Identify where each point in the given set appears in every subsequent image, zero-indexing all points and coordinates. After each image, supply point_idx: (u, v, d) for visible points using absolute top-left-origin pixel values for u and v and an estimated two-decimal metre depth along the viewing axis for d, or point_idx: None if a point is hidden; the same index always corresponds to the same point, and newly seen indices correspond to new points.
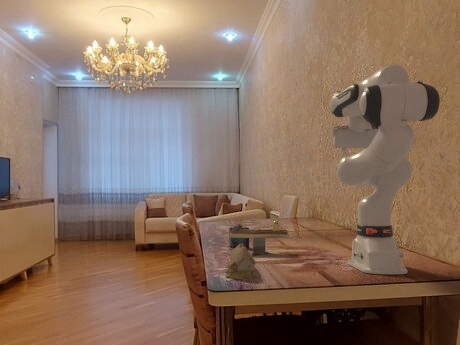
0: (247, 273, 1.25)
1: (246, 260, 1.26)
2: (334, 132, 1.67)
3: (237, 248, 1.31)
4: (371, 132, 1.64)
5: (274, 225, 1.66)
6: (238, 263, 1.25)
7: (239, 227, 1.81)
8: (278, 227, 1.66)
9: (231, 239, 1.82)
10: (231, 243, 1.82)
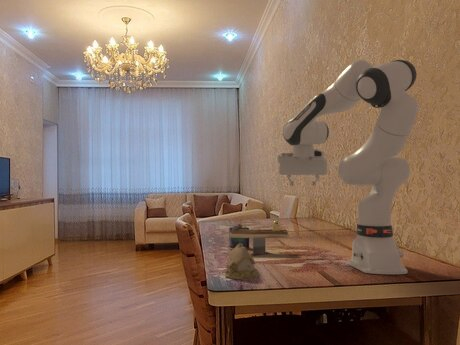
0: (247, 273, 1.25)
1: (246, 260, 1.26)
2: (279, 159, 1.71)
3: (236, 248, 1.31)
4: (314, 159, 1.68)
5: (274, 225, 1.66)
6: (238, 263, 1.25)
7: (239, 227, 1.81)
8: (278, 227, 1.66)
9: (231, 239, 1.82)
10: (231, 243, 1.82)
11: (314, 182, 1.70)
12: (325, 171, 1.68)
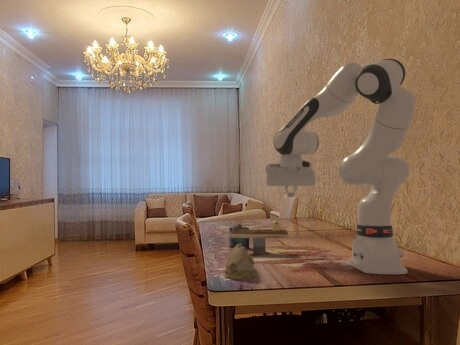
0: (246, 273, 1.25)
1: (245, 260, 1.26)
2: (266, 170, 1.68)
3: (235, 248, 1.31)
4: (302, 170, 1.65)
5: (274, 225, 1.66)
6: (237, 263, 1.24)
7: (239, 227, 1.81)
8: (278, 227, 1.66)
9: (231, 239, 1.82)
10: (231, 243, 1.82)
11: (292, 193, 1.67)
12: (313, 182, 1.65)
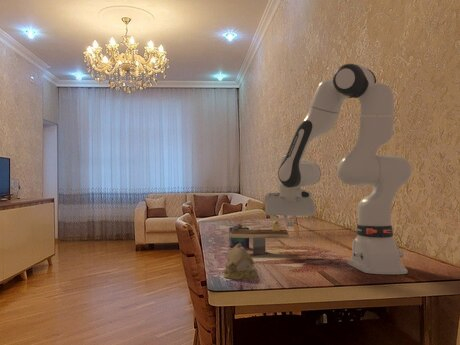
0: (246, 273, 1.25)
1: (245, 260, 1.26)
2: (266, 199, 1.68)
3: (235, 248, 1.31)
4: (301, 200, 1.65)
5: (274, 225, 1.66)
6: (237, 263, 1.24)
7: (239, 227, 1.81)
8: (278, 227, 1.66)
9: (231, 239, 1.82)
10: (231, 243, 1.82)
11: (291, 223, 1.67)
12: (312, 212, 1.65)
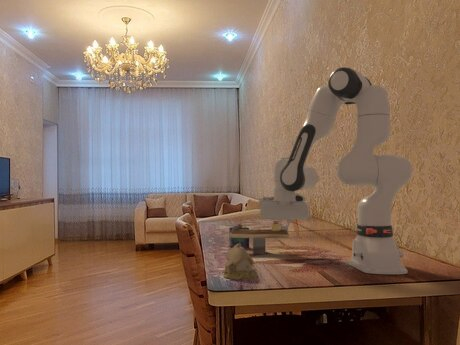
0: (246, 273, 1.25)
1: (244, 260, 1.26)
2: (260, 203, 1.68)
3: (234, 248, 1.31)
4: (295, 204, 1.65)
5: (273, 225, 1.66)
6: (236, 263, 1.24)
7: (239, 227, 1.81)
8: (277, 227, 1.66)
9: (231, 239, 1.82)
10: (231, 243, 1.82)
11: (286, 227, 1.67)
12: (307, 216, 1.65)
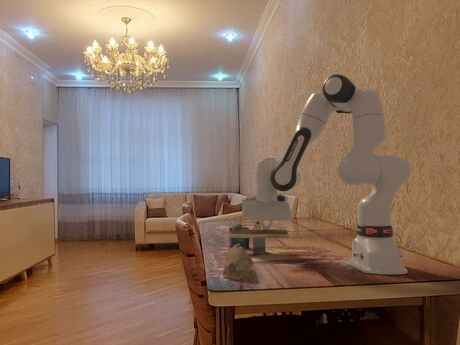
0: (245, 273, 1.25)
1: (244, 260, 1.25)
2: (242, 203, 1.69)
3: (234, 248, 1.30)
4: (277, 204, 1.66)
5: (255, 225, 1.67)
6: (236, 264, 1.24)
7: (239, 227, 1.81)
8: (259, 227, 1.67)
9: (231, 239, 1.82)
10: (231, 243, 1.82)
11: (268, 227, 1.67)
12: (288, 216, 1.66)
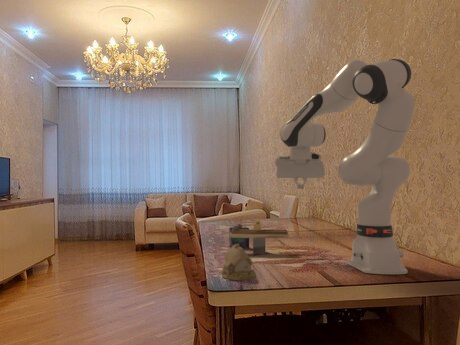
0: (245, 273, 1.25)
1: (243, 260, 1.25)
2: (276, 162, 1.72)
3: (233, 249, 1.30)
4: (311, 162, 1.69)
5: (255, 225, 1.67)
6: (235, 264, 1.24)
7: (239, 227, 1.81)
8: (259, 227, 1.67)
9: (231, 239, 1.82)
10: (231, 243, 1.82)
11: (302, 185, 1.70)
12: (322, 174, 1.69)
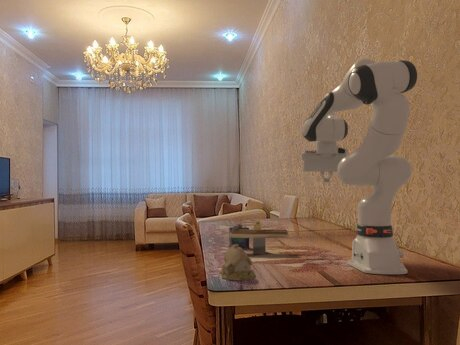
0: (244, 273, 1.24)
1: (243, 260, 1.25)
2: (303, 156, 1.76)
3: (232, 249, 1.30)
4: (337, 156, 1.73)
5: (255, 225, 1.67)
6: (235, 264, 1.23)
7: (239, 227, 1.81)
8: (259, 227, 1.67)
9: (231, 239, 1.82)
10: (231, 243, 1.82)
11: (328, 179, 1.74)
12: None
